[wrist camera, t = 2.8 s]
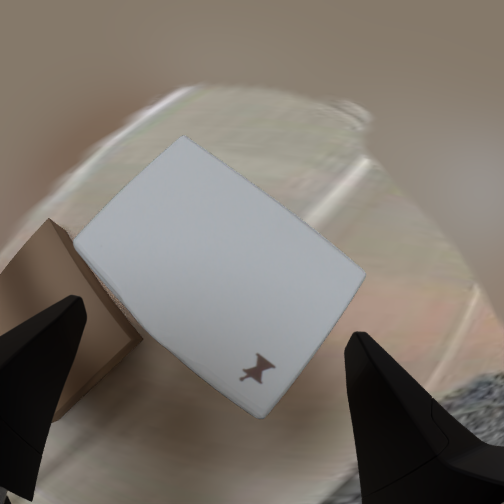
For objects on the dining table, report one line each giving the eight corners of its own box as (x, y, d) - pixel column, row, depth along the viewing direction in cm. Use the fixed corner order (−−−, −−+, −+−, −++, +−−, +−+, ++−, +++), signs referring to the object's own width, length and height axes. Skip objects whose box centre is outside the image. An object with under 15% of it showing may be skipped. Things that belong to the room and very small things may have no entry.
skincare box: (281, 312, 18) (378, 276, 6) (237, 365, 16) (261, 431, 5) (207, 251, 18) (183, 126, 7) (163, 301, 17) (62, 245, 6)
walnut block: (61, 418, 14) (40, 428, 11) (-2, 314, 16) (-25, 310, 13) (145, 339, 17) (131, 339, 14) (68, 232, 18) (48, 217, 15)
